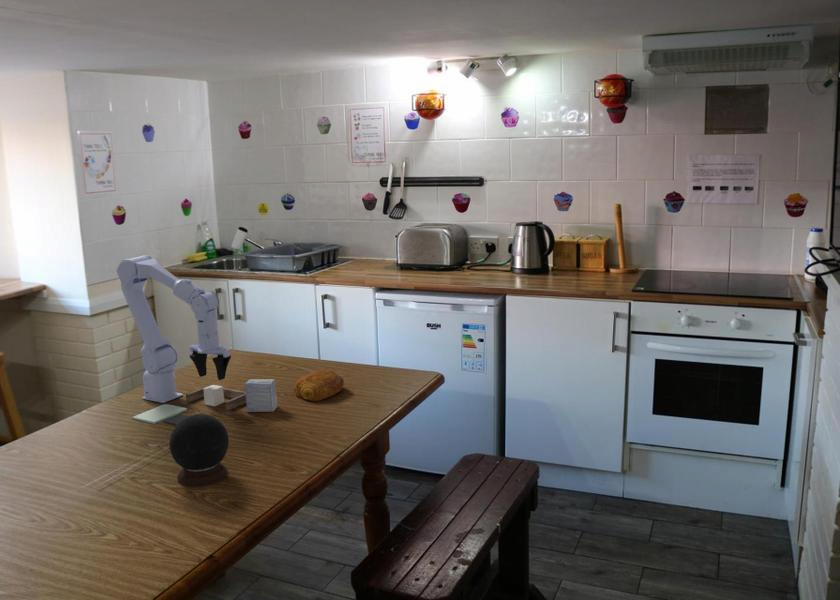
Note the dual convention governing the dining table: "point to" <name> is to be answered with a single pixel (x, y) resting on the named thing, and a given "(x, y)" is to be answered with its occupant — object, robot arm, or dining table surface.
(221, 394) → the cream block
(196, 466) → the black smart speaker
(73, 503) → the dining table surface
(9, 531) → the dining table surface
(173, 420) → the trap tile
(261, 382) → the medicine box
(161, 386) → the robot arm
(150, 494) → the dining table surface
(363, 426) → the dining table surface
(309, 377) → the croissant
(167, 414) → the pad
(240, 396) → the brown u-shaped bracket
